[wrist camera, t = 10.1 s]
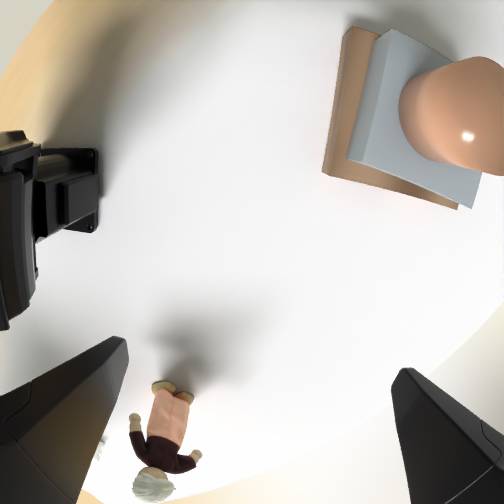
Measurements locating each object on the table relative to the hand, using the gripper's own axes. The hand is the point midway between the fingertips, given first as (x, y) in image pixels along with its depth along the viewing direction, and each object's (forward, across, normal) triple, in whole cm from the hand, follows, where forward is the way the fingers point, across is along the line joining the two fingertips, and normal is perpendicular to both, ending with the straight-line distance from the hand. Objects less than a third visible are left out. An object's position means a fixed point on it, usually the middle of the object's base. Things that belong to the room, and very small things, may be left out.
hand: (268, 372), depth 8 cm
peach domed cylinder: (+8, -8, -10) cm, 15 cm away
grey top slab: (+11, -8, -10) cm, 17 cm away
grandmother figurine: (+13, +6, +18) cm, 23 cm away
